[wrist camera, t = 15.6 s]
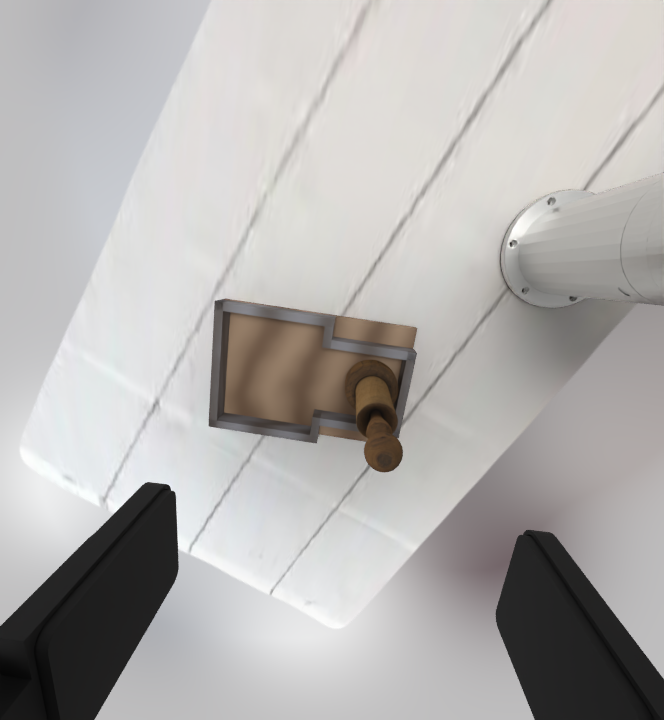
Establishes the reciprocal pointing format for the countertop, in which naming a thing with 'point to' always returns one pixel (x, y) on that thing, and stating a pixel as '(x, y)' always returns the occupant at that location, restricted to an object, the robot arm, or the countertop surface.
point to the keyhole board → (297, 369)
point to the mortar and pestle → (375, 412)
